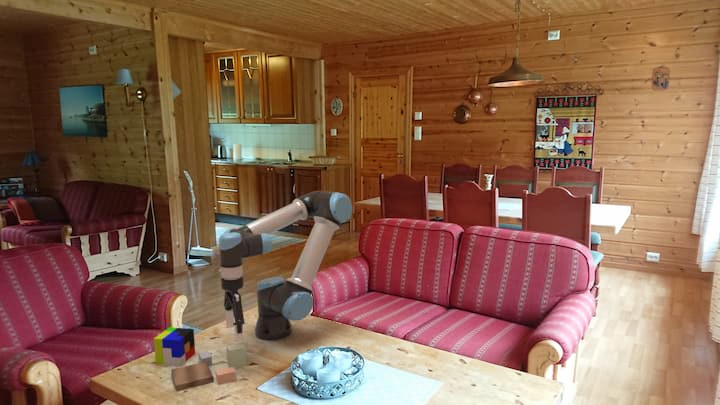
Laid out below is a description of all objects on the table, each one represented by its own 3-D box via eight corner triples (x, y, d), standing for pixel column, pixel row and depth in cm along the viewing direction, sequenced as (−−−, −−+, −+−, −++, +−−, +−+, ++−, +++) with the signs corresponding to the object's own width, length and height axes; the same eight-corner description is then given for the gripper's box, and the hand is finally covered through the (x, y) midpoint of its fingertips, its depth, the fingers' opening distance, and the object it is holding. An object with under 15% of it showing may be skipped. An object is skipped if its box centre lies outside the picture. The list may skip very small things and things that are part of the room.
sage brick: (244, 360, 178) (243, 342, 177) (247, 365, 174) (246, 346, 173) (227, 364, 175) (226, 346, 174) (230, 369, 172) (229, 350, 170)
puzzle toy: (180, 366, 174) (178, 340, 172) (156, 364, 176) (153, 338, 174) (195, 353, 184) (193, 329, 182) (171, 351, 186) (169, 327, 184)
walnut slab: (207, 366, 174) (206, 361, 173) (213, 381, 163) (213, 376, 163) (171, 374, 168) (171, 369, 168) (176, 391, 158) (175, 385, 157)
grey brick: (199, 361, 178) (198, 352, 177) (208, 358, 180) (208, 350, 179) (202, 368, 173) (201, 359, 172) (212, 365, 175) (211, 356, 174)
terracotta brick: (234, 376, 167) (233, 366, 166) (236, 380, 164) (235, 371, 163) (216, 380, 164) (215, 370, 164) (218, 385, 161) (217, 375, 161)
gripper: (213, 269, 179) (216, 323, 182) (229, 288, 157) (232, 350, 160) (234, 266, 182) (236, 320, 185) (252, 285, 160) (254, 345, 163)
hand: (234, 334), depth 173 cm, fingers open, 13 cm apart
